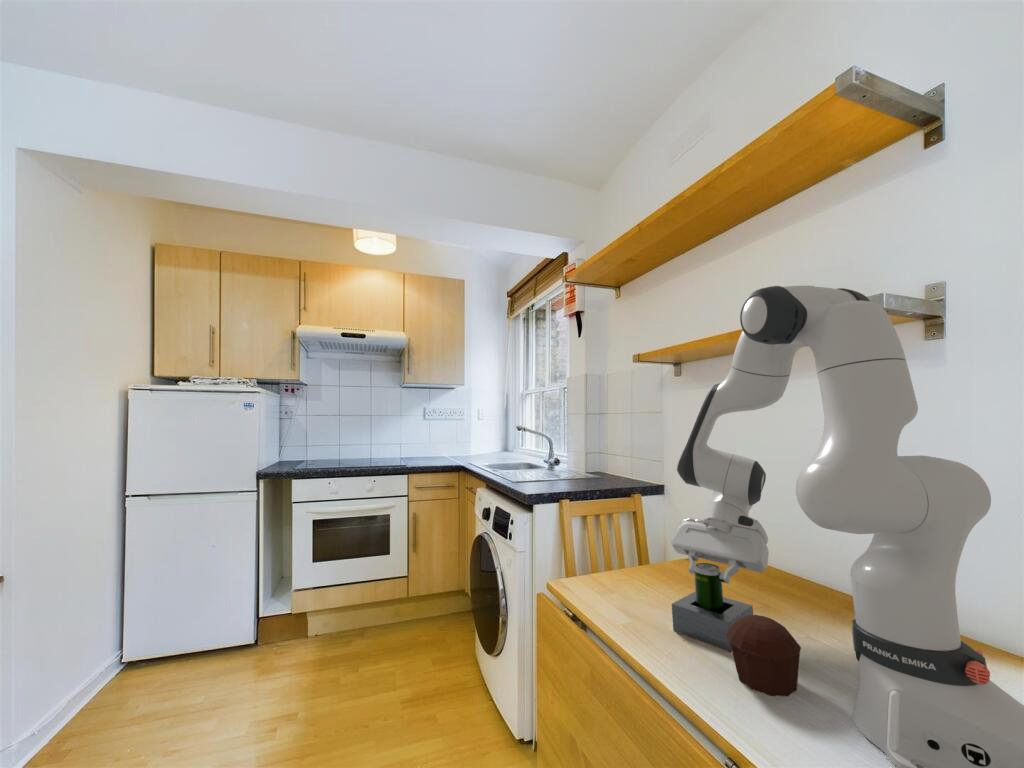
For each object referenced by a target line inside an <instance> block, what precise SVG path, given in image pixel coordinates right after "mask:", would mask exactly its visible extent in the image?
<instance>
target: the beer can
mask: <svg viewBox="0 0 1024 768" xmlns="http://www.w3.org/2000/svg"><path fill="white" fill-rule="evenodd" d="M720 569H721V567H720V566H718V565H717V564H713V563H708V562H699V563H695V569H694V574H693V575H694V588H695V589H694V590H695V591H696V606H697V607H700V608H703V609H706V610H709V611H712V612H715V613H719V614H721V613H723V612H724V605H723V597H724V592H723V582H721V580H720V579H719V575H720V571H721V570H720Z"/></svg>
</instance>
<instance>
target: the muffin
mask: <svg viewBox="0 0 1024 768" xmlns="http://www.w3.org/2000/svg"><path fill="white" fill-rule="evenodd" d="M726 636H727V638H728V640H729V642H730V643H731V648H732V651H731V653H732V656H733V660H734V665H735V669H736V672H737V675H738V676H737V678H738V680H739V681H740V682H741V683H742V684H744V685H746V686H747V687H748V688H749V689H751V690H752V691H755V692H759V693H762V694H764V695H766V696H767V695H768V696H770V697H790V696H791V695H792V694H793V693H795V692H796V691H797V688H798V679H799V678H798V677H799V665H800V654H801V649H802V647H801V645H800V644H799V643H798V641H797V640H796V639H795V638H794V637H793V636H792V634H791V633H790V631H789V630H788V629H787V628H786V627H785V626H784V625H783V624H781V623H779V622H777V621H776V620H774V619H772V618H770V617H768V616H764V615H759V614H753V615H748V616H745V617H742V618H740V619H738V620H736V621H735V622H734V624H733V625H732V626H731V627H730V629H729V630H728V631H727V633H726ZM790 694H791V695H790Z"/></svg>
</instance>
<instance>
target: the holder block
mask: <svg viewBox="0 0 1024 768" xmlns="http://www.w3.org/2000/svg"><path fill="white" fill-rule="evenodd" d="M723 605H724V612H723V613H721V614H719V613H715V612H712V611H709V610H706V609H703V608H700V607H697V606H696V590H695V591H693V592H692V593H690V594H687V595H686V596H684V597H682V598H679V600H676V601H675V602H673V603H671V612H672V613H671V614H672V615H671V616H672V629H673V631H674V632H676V633H679V634H682V635H683V636H684V635H685V636H687V637H690V638H693V639H695V640H698V641H700V642H703V643H705V644H708V645H711V646H713V647H715V648H719V649H721V650H723V651H726V652H728V653H732V648H731V643H730V642H729V640H728V638H727V636H726V633H727V631H728V630H729V629H730V627H731V626H732V625H733V624H734V622H735V621H736V620H738V619H740V618H742V617H745V616H748V615H754V607H753V604H750V603H746V602H742V601H739V600H735V599H731V598H727V597H725V596H723Z"/></svg>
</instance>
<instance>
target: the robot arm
mask: <svg viewBox="0 0 1024 768" xmlns="http://www.w3.org/2000/svg"><path fill="white" fill-rule="evenodd" d="M739 320H740V321H739V322H740V327H741V329H742V331H741V333H740V335H739V338H738V340H737V343H736V346H735V349H734V353H733V357H732V360H731V363H730V364H731V365H730V369H729V372H728V374H727V375H726V377H725V378H724V379H723V380H722V381H721V382H719V383H717V384H716V383H715V384H714V385H713V386H712V387H711V388H710V389H709V391H708V392H707V394H706V395H705V399H704V401H703V403H702V405H701V408H700V410H699V411H698V412H699V413H698V415H697V417H696V419H695V421H694V425H693V427H692V430H691V432H690V435H689V437H688V439H687V443H685V444H686V445H685V446H684V447H683V449H682V451H681V452H680V454H679V457H678V459H677V462H676V463H677V464H676V472H677V474H678V476H679V477H680V478H681V479H682V481H684V483H685V484H687V485H690V486H695V487H699V488H703V489H707V490H710V491H713V492H712V500H711V501H710V502H709V504H708V506H707V508H706V512H705V515H704V516H703V519H695V518H691V517H688V518H686V519H683V520H681V521H680V523H679V525H678V528H676V531H675V532H674V534H673V535H672V539H671V543H670V544H671V546H672V547H673V549H674V550H675V552H676V553H677V554H680V555H684V556H687V557H688V560H689V561H688V562H689V567H688V572H689V574H691V575H694V569H695V564H696V562H698V561H699V559H701V560H706V561H710V562H714V563H719V564H723V565H727V566H729V567H727V569H725V570H720V575H719V579H720V580H721V582H722V583H725V584H729V583H730V581H731V578H732V577H733V576H734V575H736V574H737V573H738V572H739V570H740V569H745V570H749V571H753V572H757V573H762V572H765V570H767V567H768V563H769V555H770V554H769V548H768V546H767V544H768V542H769V536H768V534H767V532H766V530H765V528H764V527H763V525H762V523H761V522H760V521H759V520H757V519H755V518H752V517H750V516H749V514H750V513H749V512H750V510H751V509H752V508H753V506H754V505H755V504H757V503H758V502H760V501H761V497H762V491H763V489H764V487H765V484H766V478H767V477H766V475H767V474H766V471H765V470H764V468H763V467H762V465H761V464H760V462H758V461H757V460H754V459H752V458H749V457H746V456H742V455H737V454H734V453H730V452H726V451H722V450H719V449H715V448H711V447H710V446H708V441H709V439H710V436H711V434H712V431H713V429H714V426H715V424H716V422H717V420H718V418H719V417H721V416H723V415H726V414H730V413H738V412H748V411H749V412H751V411H756V410H761V409H764V408H767V407H770V406H772V405H774V404H775V403H777V402H778V401H779V400H781V398H782V397H783V396H784V393H785V392H786V389H787V386H788V383H789V380H790V376H791V373H792V368H793V363H794V358H795V356H796V354H797V352H798V351H799V350H800V349H801V348H803V347H809V348H810V349H811V351H812V353H813V356H814V357H813V358H814V361H815V369H816V374H817V379H818V384H819V389H820V390H819V391H820V396H821V402H822V408H823V410H822V411H823V416H824V417H823V418H824V420H823V422H824V425H823V432H822V437H821V441H820V443H819V447H818V449H817V452H816V453H815V455H814V457H813V458H812V459H811V460H810V462H808V464H806V466H805V467H804V468H802V470H801V471H800V472H799V474H798V476H797V479H796V483H795V495H796V499H797V502H798V505H799V507H800V509H801V511H802V512H803V513H804V515H805V516H806V517H807V518H808V520H810V521H811V522H812V523H813V524H815V525H817V526H818V527H819V528H820V527H821V528H823V529H827V530H832V531H836V532H841V533H848V534H853V535H854V534H855V535H869V534H870V535H871V534H872V539H871V541H870V543H869V546H868V547H867V549H866V550H865V551H864V552H863V553H862V554H861V555H859V557H858V558H856V559H855V561H854V562H853V563H852V565H851V568H850V574H849V575H850V583H851V584H850V585H851V590H852V592H851V593H852V602H853V603H852V604H853V611H854V619H853V620H852V621H851V623H852V624H851V625H852V626H851V635H852V644H853V651H854V652H855V659H856V661H857V662H858V663H857V665H858V666H857V670H858V671H857V673H858V674H857V689H856V690H857V691H856V697H855V702H854V705H853V710H852V713H851V718H852V721H853V723H854V725H855V727H856V728H857V729H858V730H859V732H860V733H861V734H862V735H863V736H864V737H865V738H866V739H867V740H868V741H870V742H871V743H873V745H875V746H876V747H878V748H879V749H880V750H881V751H883V753H884V754H885V755H886V757H887V758H888V759H889V760H890V761H891V763H892V764H893V765H894V766H895V767H896V768H1024V704H1022V703H1021V702H1020V701H1018V699H1015V698H1014V697H1013V696H1012V695H1010V694H1009V693H1008V692H1006V691H1005V690H1004V689H1002V688H1001V687H1000V686H998V685H997V684H996V683H995V682H993V681H992V680H991V679H990V678H991V672H990V670H989V668H988V666H987V661H986V658H985V656H983V655H984V653H983V651H982V650H981V648H980V647H976V648H977V649H976V650H975V649H974V648H973V647H971V646H970V645H968V644H966V643H965V642H964V641H962V640H961V633H960V632H961V631H960V624H959V617H958V605H957V599H956V598H957V596H956V582H957V581H956V580H957V573H958V567H959V564H960V559H961V556H962V554H963V553H962V552H963V550H964V548H965V547H964V546H965V544H966V542H967V540H968V537H969V535H970V533H971V531H972V530H973V528H974V527H975V526H976V525H977V524H978V523H980V521H981V520H982V519H984V518H985V516H986V515H987V514H988V512H989V511H990V509H991V505H992V496H991V492H990V488H989V486H988V484H987V482H986V481H985V480H984V478H983V477H982V476H981V475H980V474H979V473H978V472H976V471H975V470H974V469H973V468H971V467H970V466H968V465H966V464H964V463H962V462H959V461H955V460H950V459H947V458H941V457H935V456H928V455H898V447H899V446H898V445H899V441H900V436H901V435H902V434H901V433H902V431H903V429H904V428H905V427H906V425H908V424H910V423H911V422H912V421H914V419H915V418H916V416H917V414H918V410H919V407H918V402H917V398H916V393H915V390H914V386H913V382H912V377H911V373H910V370H909V366H908V361H907V358H906V355H905V352H904V348H903V345H902V342H901V340H900V338H899V335H898V333H897V331H896V329H895V327H894V324H893V322H892V320H891V319H890V317H889V315H888V314H887V311H886V309H885V308H883V307H882V306H881V305H880V304H878V303H876V302H873V301H871V300H870V299H869V298H868V296H866V295H865V294H864V293H861V292H859V291H856V290H853V289H849V288H844V287H843V288H842V287H841V288H832V287H824V286H823V287H822V286H815V285H789V286H780V285H774V286H773V285H771V286H767V287H762V288H759V289H756V290H754V291H753V292H752V293H750V294H749V295H747V298H745V301H744V302H743V304H742V307H741V310H740V315H739Z"/></svg>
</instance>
